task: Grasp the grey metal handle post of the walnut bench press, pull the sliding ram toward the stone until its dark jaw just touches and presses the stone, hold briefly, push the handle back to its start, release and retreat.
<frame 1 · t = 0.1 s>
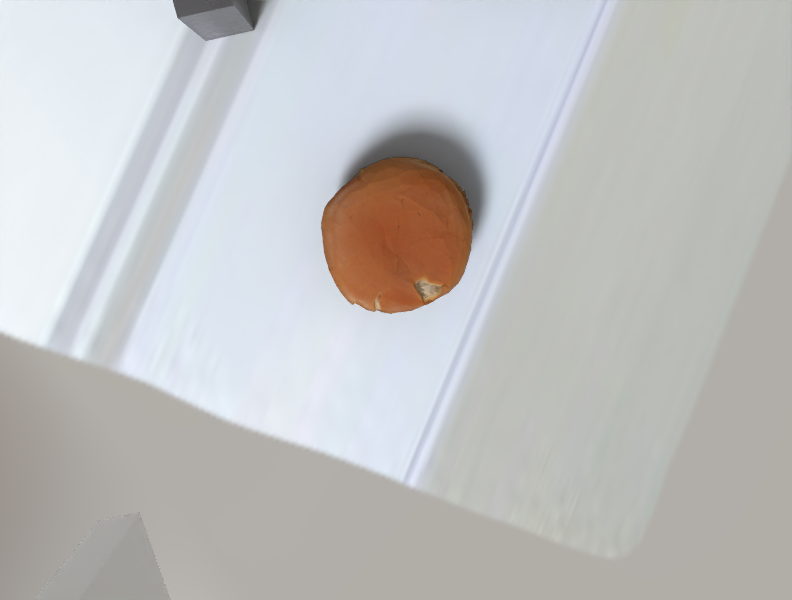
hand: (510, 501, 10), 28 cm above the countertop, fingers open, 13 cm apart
burger: (398, 233, 37), on the countertop
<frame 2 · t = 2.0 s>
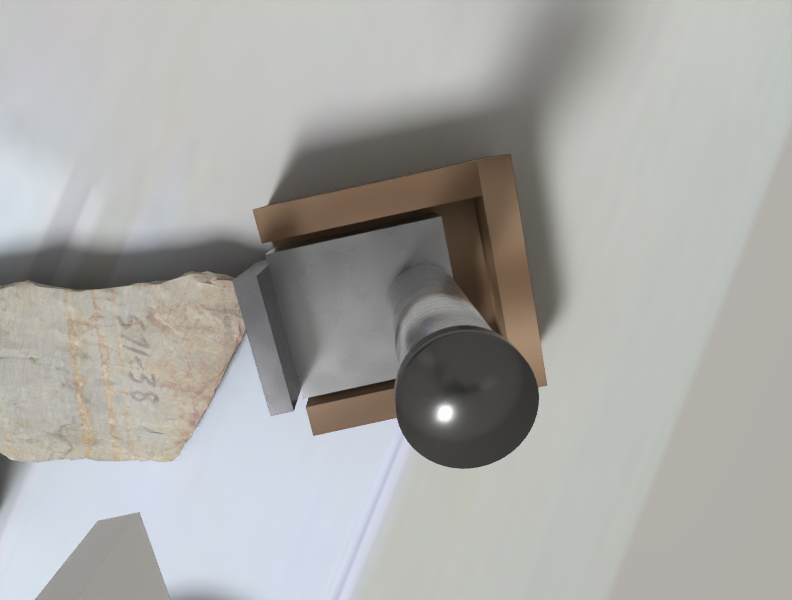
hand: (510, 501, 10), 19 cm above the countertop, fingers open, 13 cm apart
stone: (105, 343, 30), on the countertop
ram: (360, 342, 21), point 8 cm above the countertop, slide at 0.0 cm
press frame: (388, 289, 29), on the countertop
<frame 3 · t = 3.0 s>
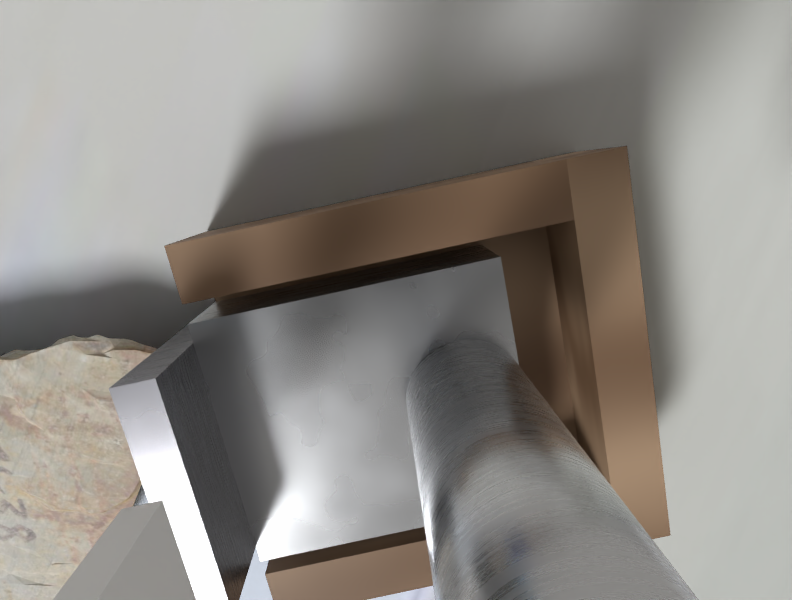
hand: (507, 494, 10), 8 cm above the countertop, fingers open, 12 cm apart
ram: (355, 530, 10), point 8 cm above the countertop, slide at 0.0 cm
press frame: (403, 364, 18), on the countertop
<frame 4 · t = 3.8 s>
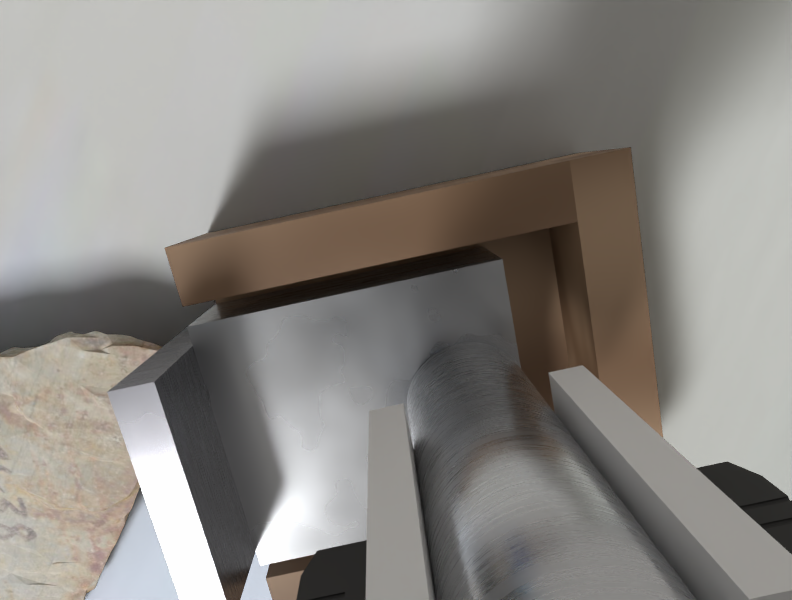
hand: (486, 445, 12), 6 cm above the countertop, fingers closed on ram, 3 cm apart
ram: (356, 536, 10), point 8 cm above the countertop, slide at 0.0 cm, touching gripper
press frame: (404, 366, 18), on the countertop
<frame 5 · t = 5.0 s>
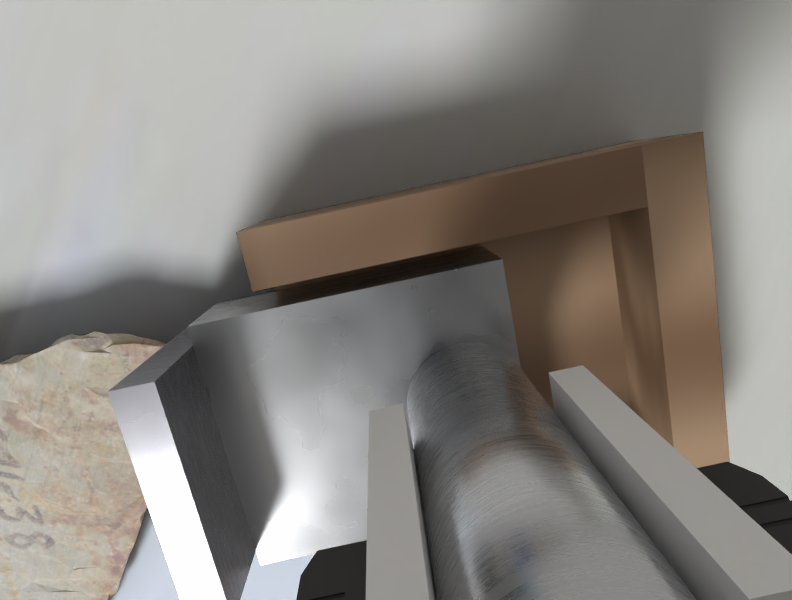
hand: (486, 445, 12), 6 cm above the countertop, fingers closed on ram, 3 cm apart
ram: (356, 535, 10), point 8 cm above the countertop, slide at 1.8 cm, touching gripper
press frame: (458, 355, 18), on the countertop
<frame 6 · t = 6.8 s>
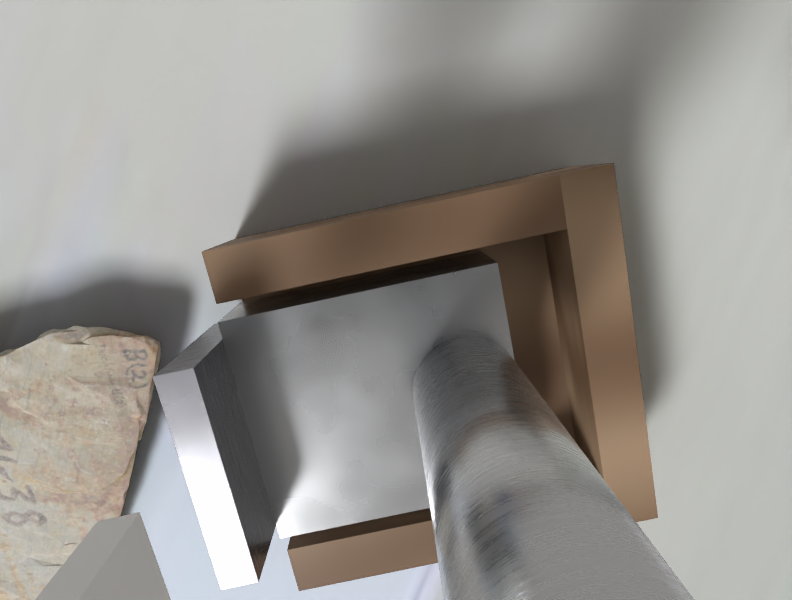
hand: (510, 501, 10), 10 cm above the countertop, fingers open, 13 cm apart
ram: (368, 498, 12), point 8 cm above the countertop, slide at 0.1 cm
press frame: (412, 361, 20), on the countertop
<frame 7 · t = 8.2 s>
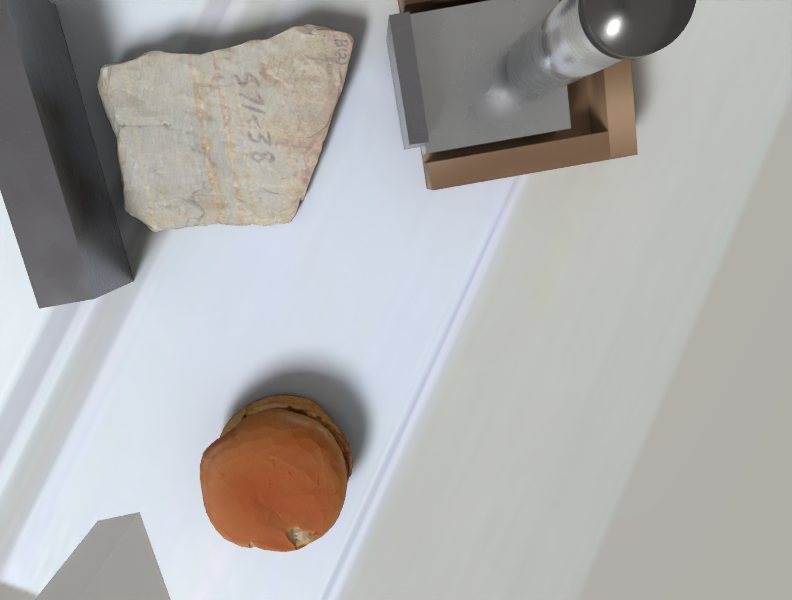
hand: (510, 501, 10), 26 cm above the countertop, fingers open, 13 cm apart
stone: (219, 124, 33), on the countertop
burger: (284, 458, 38), on the countertop
ram: (504, 56, 25), point 8 cm above the countertop, slide at 0.1 cm
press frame: (495, 80, 33), on the countertop
grey rectangular bar: (71, 154, 33), on the countertop
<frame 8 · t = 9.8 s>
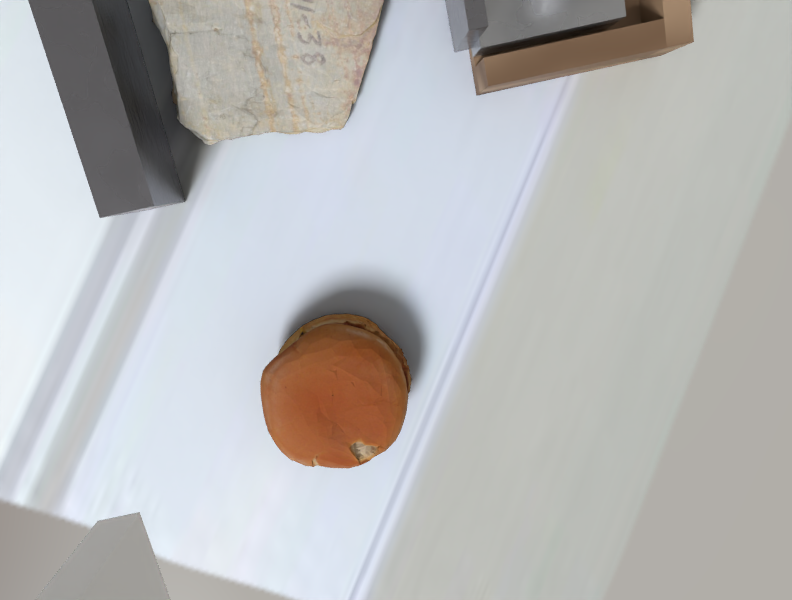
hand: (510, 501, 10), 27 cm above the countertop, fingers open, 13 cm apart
stone: (266, 33, 33), on the countertop
burger: (340, 381, 38), on the countertop
grey rectangular bar: (121, 72, 33), on the countertop
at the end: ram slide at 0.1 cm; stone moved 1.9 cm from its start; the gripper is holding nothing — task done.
